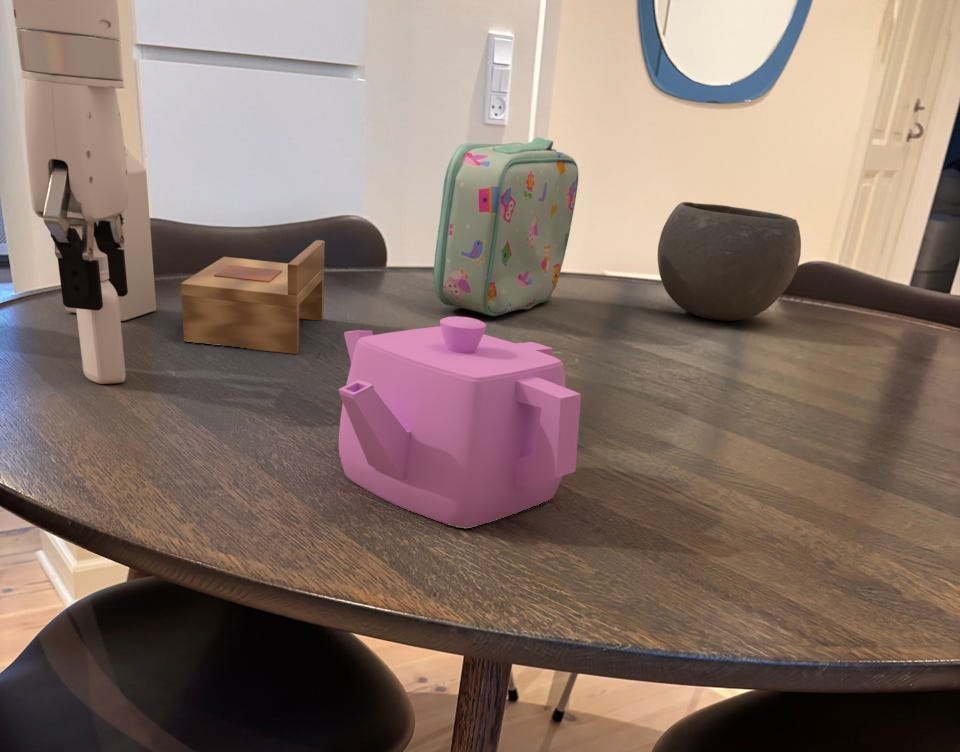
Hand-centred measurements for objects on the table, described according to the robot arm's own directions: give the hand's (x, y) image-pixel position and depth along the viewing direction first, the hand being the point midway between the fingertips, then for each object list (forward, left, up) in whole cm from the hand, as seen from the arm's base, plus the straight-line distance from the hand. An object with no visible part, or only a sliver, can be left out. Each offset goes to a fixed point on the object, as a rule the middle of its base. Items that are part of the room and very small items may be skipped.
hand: (96, 299), depth 83 cm
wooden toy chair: (+9, +24, -7) cm, 27 cm away
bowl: (+70, +62, -7) cm, 94 cm away
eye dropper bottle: (0, 0, -7) cm, 7 cm away
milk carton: (-8, +25, -7) cm, 27 cm away
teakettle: (+32, -19, -7) cm, 38 cm away
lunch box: (+37, +53, -7) cm, 65 cm away
